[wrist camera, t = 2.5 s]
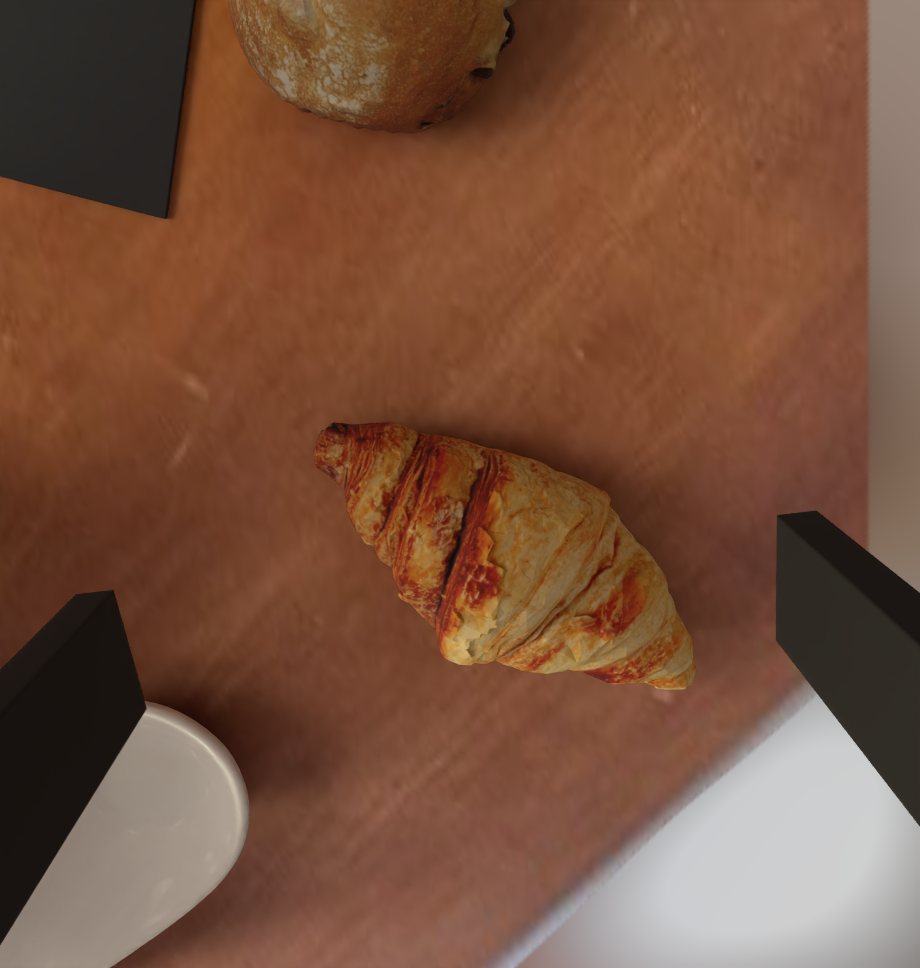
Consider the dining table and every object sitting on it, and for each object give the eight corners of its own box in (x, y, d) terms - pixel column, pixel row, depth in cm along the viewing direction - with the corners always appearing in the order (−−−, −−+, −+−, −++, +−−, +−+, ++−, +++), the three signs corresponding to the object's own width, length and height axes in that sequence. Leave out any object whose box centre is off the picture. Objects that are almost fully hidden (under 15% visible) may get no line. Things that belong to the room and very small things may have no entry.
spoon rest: (95, 627, 40) (21, 711, 33) (304, 735, 42) (276, 836, 35) (-82, 941, 46) (-176, 1069, 39) (108, 1022, 48) (52, 1155, 41)
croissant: (696, 584, 43) (800, 590, 35) (614, 757, 41) (706, 804, 33) (360, 364, 39) (396, 317, 31) (246, 545, 36) (255, 543, 29)
